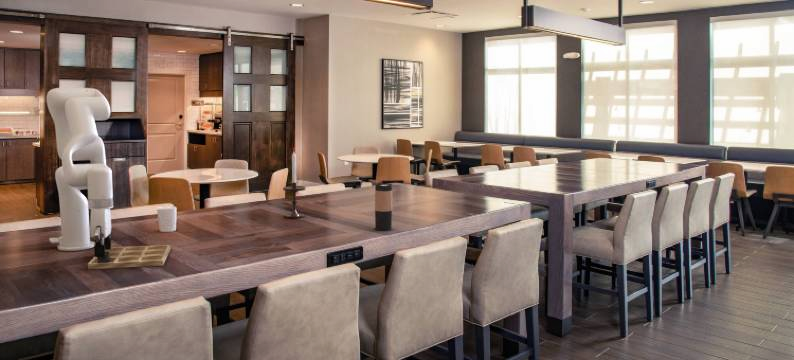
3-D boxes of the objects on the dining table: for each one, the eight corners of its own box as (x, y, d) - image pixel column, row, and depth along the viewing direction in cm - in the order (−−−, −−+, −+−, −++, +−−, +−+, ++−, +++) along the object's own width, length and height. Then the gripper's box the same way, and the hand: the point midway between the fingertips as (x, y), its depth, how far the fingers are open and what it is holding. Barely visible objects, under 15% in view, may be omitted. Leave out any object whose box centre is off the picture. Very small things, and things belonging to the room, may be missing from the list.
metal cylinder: (96, 264, 210) (95, 254, 210) (98, 261, 214) (98, 252, 214) (109, 264, 211) (108, 254, 211) (111, 261, 215) (110, 251, 215)
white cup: (156, 232, 265) (155, 209, 264) (159, 229, 273) (158, 206, 272) (175, 232, 267) (175, 209, 265) (178, 228, 274) (177, 205, 273)
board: (87, 269, 208) (87, 264, 207) (102, 252, 230) (102, 247, 230) (163, 265, 213) (162, 260, 213) (170, 249, 236) (170, 244, 236)
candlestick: (310, 216, 306) (309, 144, 302) (295, 219, 297) (294, 146, 293) (293, 214, 312) (292, 143, 307) (278, 217, 303) (277, 145, 298)
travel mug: (378, 231, 273) (378, 186, 270) (372, 228, 280) (372, 183, 277) (394, 230, 275) (395, 185, 273) (388, 227, 282) (388, 183, 280)
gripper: (94, 199, 218) (96, 247, 220) (82, 208, 201) (84, 260, 203) (117, 198, 219) (119, 246, 222) (107, 207, 203) (109, 259, 205)
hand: (103, 253), depth 213 cm, fingers open, 9 cm apart
